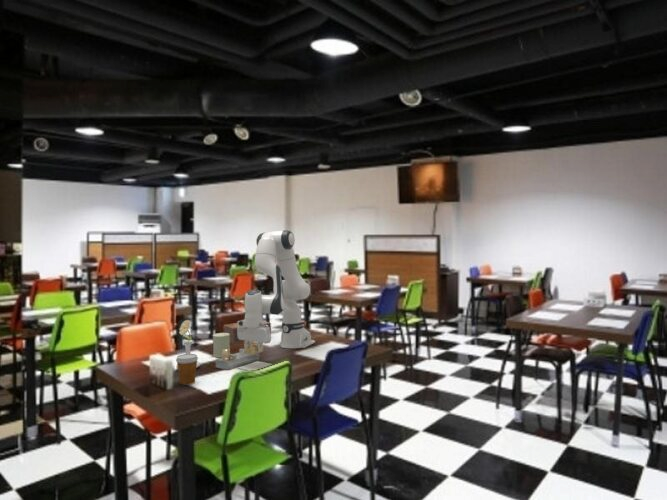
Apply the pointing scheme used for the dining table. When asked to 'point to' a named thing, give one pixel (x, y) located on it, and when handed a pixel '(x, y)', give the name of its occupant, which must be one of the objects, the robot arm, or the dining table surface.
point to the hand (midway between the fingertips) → (254, 350)
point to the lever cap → (253, 349)
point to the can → (220, 343)
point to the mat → (254, 366)
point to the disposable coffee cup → (187, 368)
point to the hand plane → (235, 358)
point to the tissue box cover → (233, 332)
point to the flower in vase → (187, 343)
